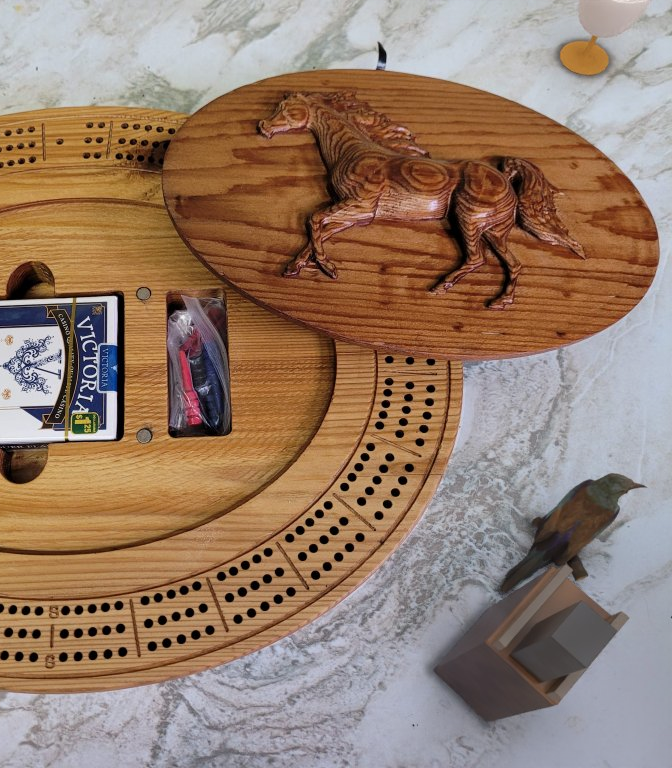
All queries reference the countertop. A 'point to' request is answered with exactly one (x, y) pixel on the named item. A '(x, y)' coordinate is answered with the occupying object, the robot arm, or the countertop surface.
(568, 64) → the cup
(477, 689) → the pedestal
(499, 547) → the countertop surface
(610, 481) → the bird figurine
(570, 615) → the pad mount
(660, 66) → the countertop surface
